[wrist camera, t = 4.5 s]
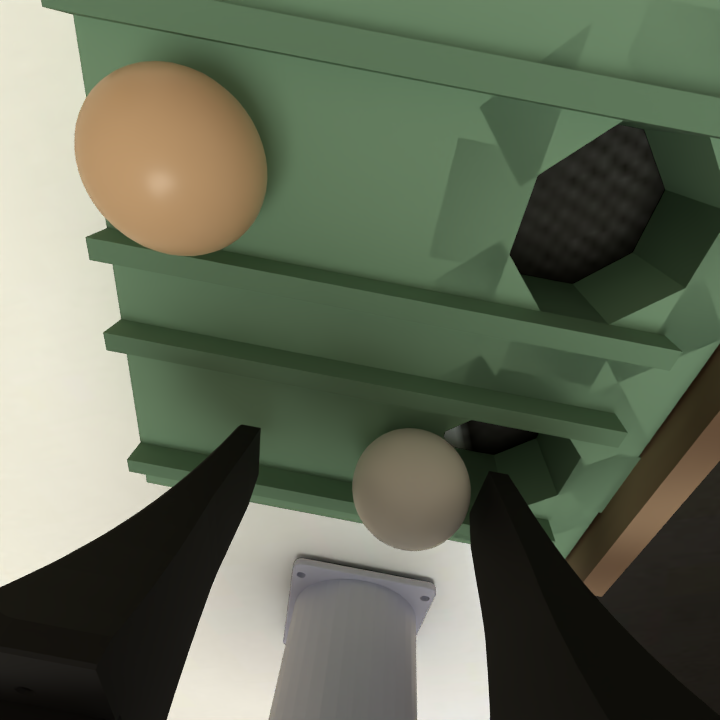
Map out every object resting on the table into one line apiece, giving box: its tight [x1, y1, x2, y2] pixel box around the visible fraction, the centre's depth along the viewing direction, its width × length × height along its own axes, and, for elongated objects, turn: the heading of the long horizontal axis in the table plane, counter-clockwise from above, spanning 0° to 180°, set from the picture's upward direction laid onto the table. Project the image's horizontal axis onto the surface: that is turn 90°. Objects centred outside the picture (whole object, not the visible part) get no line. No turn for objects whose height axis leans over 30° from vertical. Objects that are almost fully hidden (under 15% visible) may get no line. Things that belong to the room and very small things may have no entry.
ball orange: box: [75, 61, 267, 256], centre depth 9 cm, size 4×4×4 cm
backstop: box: [565, 344, 720, 597], centre depth 13 cm, size 17×1×4 cm, turn 171°
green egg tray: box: [41, 0, 720, 559], centre depth 13 cm, size 17×17×4 cm
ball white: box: [352, 428, 471, 551], centre depth 13 cm, size 4×4×4 cm
